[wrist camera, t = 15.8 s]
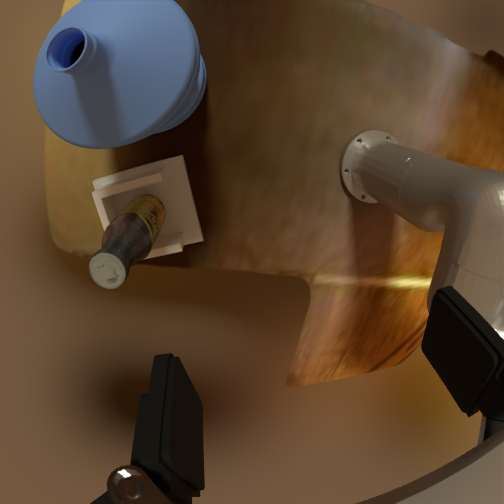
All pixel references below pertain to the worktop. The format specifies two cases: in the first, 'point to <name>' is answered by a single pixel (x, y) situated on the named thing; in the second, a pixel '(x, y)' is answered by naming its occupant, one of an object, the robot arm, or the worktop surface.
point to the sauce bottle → (127, 240)
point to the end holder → (162, 187)
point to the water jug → (118, 72)
